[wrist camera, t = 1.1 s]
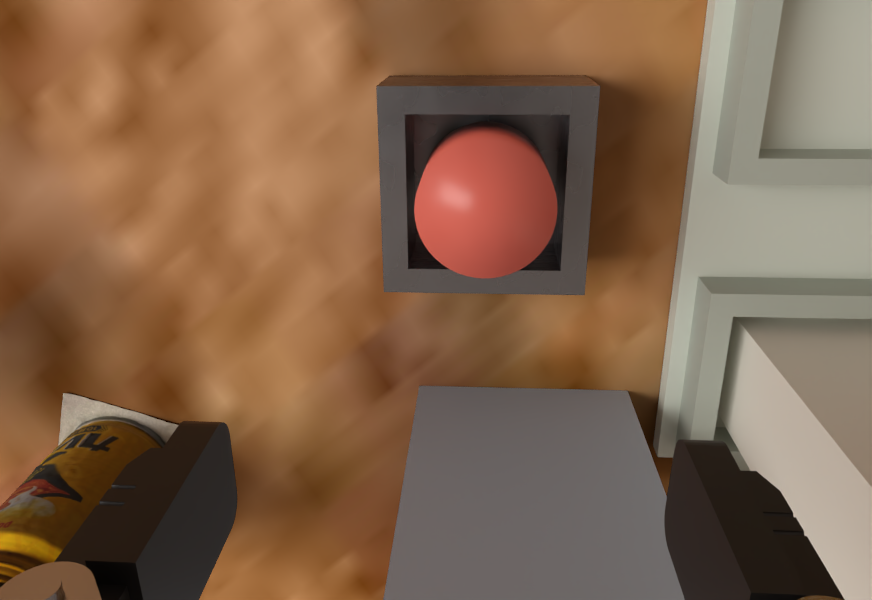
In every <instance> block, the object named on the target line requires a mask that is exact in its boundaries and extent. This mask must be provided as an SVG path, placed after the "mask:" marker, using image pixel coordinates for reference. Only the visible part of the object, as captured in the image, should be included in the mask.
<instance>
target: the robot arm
mask: <svg viewBox="0 0 872 600" xmlns="http://www.w3.org/2000/svg"><path fill="white" fill-rule="evenodd" d="M236 509H237V488H236V480H235V472H234V465H233V457H232V449H231V441H230V434H229V429H228V427H227V425H226V424H225V423H223V422H197V421H183V422H181V423H180V424H179V425H178V427H177V428H176V430H175V431H174V432H173V434H172V435H171V437H170V438H169V440H168V441H167V443H166V444H165V445H164V447H163V448H150V449H148V450H147V451H145V452H144V453H142V454H141V455H140V456H138V457H137V458H135V459H134V460H132V461H131V462H129V463H128V464H127V465H126V466H125V467H124V469H123V470H122V471H121V473H120V474H119V475H118V477H117V478H116V479H115V481H114V482H113V483H112V487H111V489H108V490H107V491H106V493H105V494H104V495H103V497H102V498H101V499H100V501H99V505H96V506H95V508H94V509H93V510H92V512H91V513H90V514H89V516H88V517H87V518H86V520H85V521H84V522H83V524H82V525H81V526H80V528H79V529H78V530H77V532H76V533H75V534H74V536H73V537H72V538H71V540H70V541H69V542H68V544H67V545H66V546H65V548H64V549H63V550H62V552H61V553H60V555H59V556H58V557H57V559H56V560H55V561H54V562H52V563H47V564H43V565H40V566H36V567H33V568H31V569H29V570H26V571H24V572H22V573H20V574H18V575H17V576H15V577H13V578H12V579H10V580H9V581H8V582H6V583H5V584H4V585H3V586H1V587H0V600H199V598H200V596H201V594H202V592H203V589H204V587H205V585H206V583H207V581H208V579H209V576H210V574H211V572H212V570H213V568H214V566H215V564H216V561H217V559H218V557H219V555H220V553H221V551H222V548H223V546H224V544H225V542H226V540H227V538H228V535H229V533H230V531H231V529H232V526H233V523H234V520H235V515H236ZM664 527H665V537H666V543H667V547H668V550H669V553H670V556H671V559H672V562H673V565H674V568H675V572H676V575H677V578H678V581H679V584H680V587H681V590H682V593H683V596H684V599H685V600H845V599H844V598H843V596H842V594H841V593H840V591H839V589H838V588H837V586H836V584H835V583H834V581H833V579H832V577H831V576H830V574H829V572H828V571H827V569H826V567H825V566H824V564H823V562H822V561H821V559H820V557H819V555H818V554H817V552H816V550H815V549H814V547H813V545H812V544H811V542H810V540H809V539H808V537H807V536H804V530H803V528H802V527H801V525H800V523H799V522H798V520H797V518H796V517H793V512H792V510H791V508H790V507H789V505H788V503H787V501H786V500H785V498H784V496H783V495H782V493H781V491H780V490H779V489H777V488H776V487H775V486H774V485H773V484H771V483H770V482H769V481H768V480H767V479H765V478H764V477H763V476H762V475H761V474H759V473H758V472H757V471H742V470H740V469H739V467H738V465H737V463H736V461H735V459H734V457H733V456H732V454H731V452H730V450H729V448H728V446H727V445H726V443H725V442H724V441H714V440H685V439H679V440H678V441H677V443H676V446H675V450H674V455H673V462H672V468H671V474H670V481H669V487H668V494H667V500H666V506H665V516H664Z"/></svg>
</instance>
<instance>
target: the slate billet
mask: <svg viewBox="0 0 872 600" xmlns="http://www.w3.org/2000/svg"><path fill="white" fill-rule="evenodd" d="M666 500H667V496H666V493H665V491H664V488H663V485H662V483H661V480H660V477H659V474H658V472H657V469H656V466H655V464H654V461H653V458H652V455H651V453H650V450H649V447H648V445H647V442H646V439H645V437H644V434H643V431H642V428H641V426H640V423H639V420H638V418H637V415H636V412H635V409H634V407H633V404H632V401H631V399H630V396H629V393H628V391H620V390H577V389H534V388H492V387H449V386H419V391H418V397H417V403H416V409H415V415H414V421H413V427H412V433H411V439H410V445H409V451H408V457H407V463H406V469H405V475H404V481H403V487H402V492H401V498H400V504H399V510H398V516H397V522H396V528H395V534H394V540H393V546H392V552H391V558H390V564H389V570H388V576H387V582H386V588H385V594H384V599H383V600H685V599H684V596H683V593H682V590H681V587H680V584H679V581H678V578H677V575H676V572H675V568H674V565H673V562H672V559H671V556H670V553H669V550H668V547H667V543H666V537H665V527H664V516H665V506H666Z"/></svg>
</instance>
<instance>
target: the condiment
mask: <svg viewBox="0 0 872 600" xmlns="http://www.w3.org/2000/svg"><path fill="white" fill-rule="evenodd" d="M61 413H62V415H61V425H60V434H59V445H58V446H57V447H56V448H55V449H54V451H53V452H52V453H51V454H50V455H49V456H47V457H46V458H45V459H44V460H43V461H42V462H41V464H40V465H39V466H38V467H36V468H35V470H34V472H33V473H32V474H31V475H30V476H29V477H28V478H27V479H26V480H25V481H24V482H23V484H22V485H21V486H19V488H18V489H17V490H16V491H15V492H14V493H13V494H12V495H11V496H10V497H9V498H8V499H7V500H6V501H5V502H4V503H3V504H2V505H1V506H0V587H1V586H3V585H4V584H5V583H6V582H8V581H9V580H10V579H12V578H13V577H15V576H17V575H18V574H20V573H22V572H24V571H26V570H29V569H31V568H33V567H36V566H40V565H43V564H47V563H52V562H54V561H55V560H56V559H57V557H58V556H59V555H60V553H61V552H62V550H63V549H64V548H65V546H66V545H67V544H68V542H69V541H70V540H71V538H72V537H73V536H74V534H75V533H76V532H77V530H78V529H79V528H80V526H81V525H82V524H83V522H84V521H85V520H86V518H87V517H88V516H89V514H90V513H91V512H92V510H93V509H94V508H95V506H96V505H99V501H100V499H101V498H102V497H103V495H104V494H105V493H106V491H107V490H108V489H111V487H112V483H113V482H114V481H115V479H116V478H117V477H118V475H119V474H120V473H121V471H122V470H123V469H124V467H125V466H126V465H127V464H128V463H129V462H131V461H132V460H134V459H135V458H137V457H138V456H140V455H141V454H142V453H144V452H145V451H147V450H148V449H150V448H163V447H164V445H165V444H166V443H167V441H168V440H169V438H170V437H171V435H172V434H173V432H174V431H175V430H176V428H177V427H178V425H176V424H172V423H168V422H165V421H163V420H159V419H156V418H153V417H150V416H147V415H144V414H141V413H138V412H134V411H130V410H127V409H123V408H120V407H117V406H113V405H109V404H106V403H103V402H99V401H94V400H90V399H88V398H85V397H81V396H77V395H73V394H65V393H63V401H62V411H61Z"/></svg>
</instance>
